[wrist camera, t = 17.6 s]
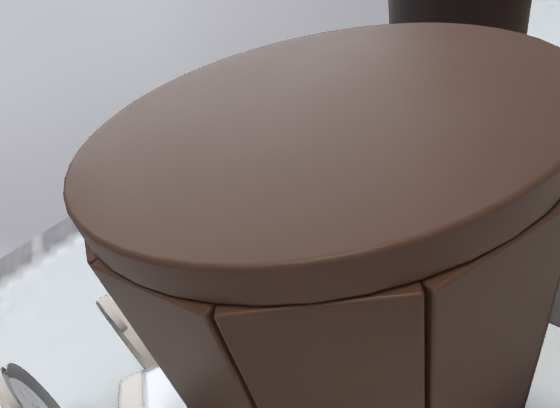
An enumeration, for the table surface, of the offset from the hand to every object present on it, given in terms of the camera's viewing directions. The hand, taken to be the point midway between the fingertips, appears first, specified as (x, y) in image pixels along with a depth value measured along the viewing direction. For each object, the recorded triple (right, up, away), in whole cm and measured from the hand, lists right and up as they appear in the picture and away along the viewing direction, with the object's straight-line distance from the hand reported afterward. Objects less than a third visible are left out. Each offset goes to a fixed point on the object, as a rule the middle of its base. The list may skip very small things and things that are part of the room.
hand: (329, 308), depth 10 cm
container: (+2, -6, +3) cm, 7 cm away
